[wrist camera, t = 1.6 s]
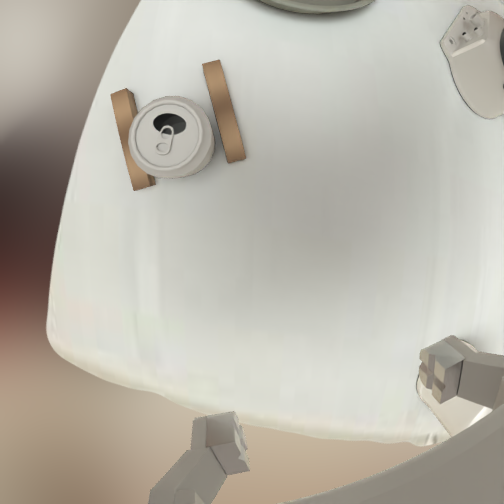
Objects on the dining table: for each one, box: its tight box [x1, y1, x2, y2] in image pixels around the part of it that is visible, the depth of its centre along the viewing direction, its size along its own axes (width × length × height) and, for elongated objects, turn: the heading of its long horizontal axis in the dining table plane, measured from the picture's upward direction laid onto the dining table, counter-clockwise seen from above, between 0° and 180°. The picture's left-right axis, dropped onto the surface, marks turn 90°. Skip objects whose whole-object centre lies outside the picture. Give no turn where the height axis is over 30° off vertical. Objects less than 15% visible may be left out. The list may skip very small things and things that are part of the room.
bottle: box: [417, 340, 493, 437], centre depth 35 cm, size 14×14×28 cm
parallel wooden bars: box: [110, 60, 246, 191], centre depth 33 cm, size 12×13×3 cm
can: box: [128, 96, 215, 179], centre depth 29 cm, size 8×8×12 cm
